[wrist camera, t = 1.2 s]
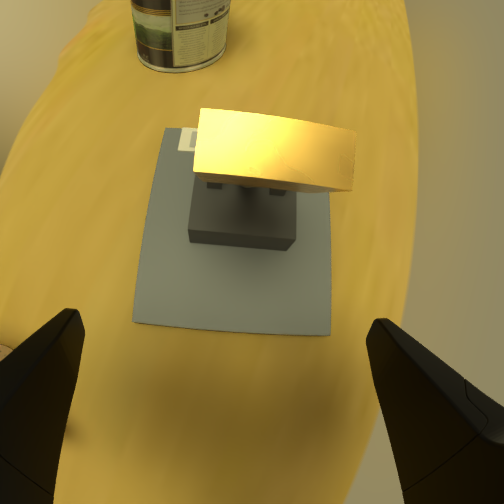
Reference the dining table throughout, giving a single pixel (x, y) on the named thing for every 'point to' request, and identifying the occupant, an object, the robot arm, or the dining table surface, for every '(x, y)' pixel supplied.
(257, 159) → the lever
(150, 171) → the dining table surface
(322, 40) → the dining table surface
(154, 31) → the coffee can
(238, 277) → the switch board
